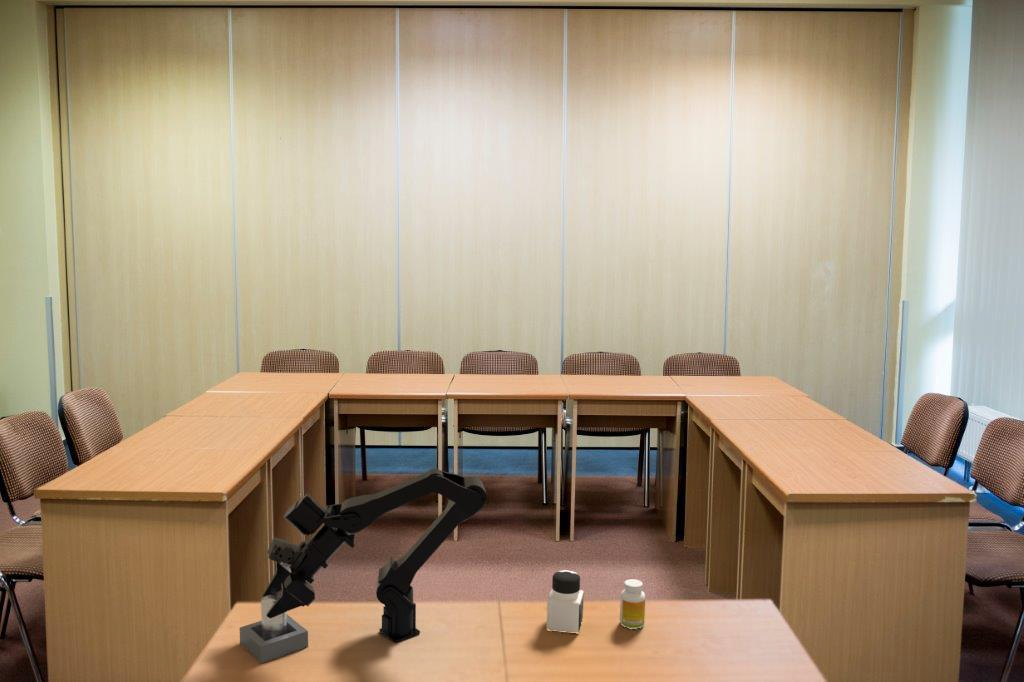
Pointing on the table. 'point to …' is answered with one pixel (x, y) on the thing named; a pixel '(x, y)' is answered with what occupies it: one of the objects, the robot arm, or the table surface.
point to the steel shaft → (272, 619)
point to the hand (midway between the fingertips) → (266, 607)
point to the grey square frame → (273, 640)
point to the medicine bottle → (565, 602)
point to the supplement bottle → (632, 604)
